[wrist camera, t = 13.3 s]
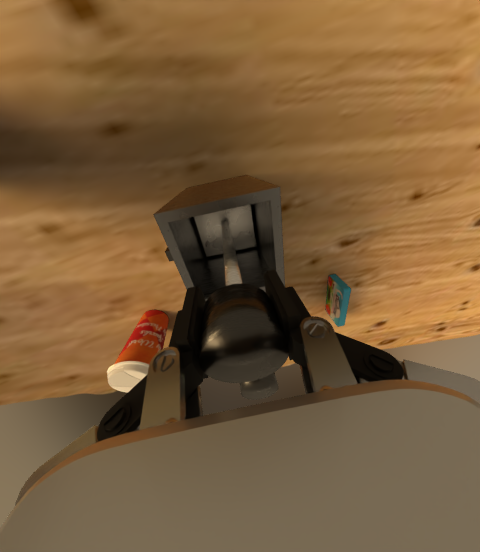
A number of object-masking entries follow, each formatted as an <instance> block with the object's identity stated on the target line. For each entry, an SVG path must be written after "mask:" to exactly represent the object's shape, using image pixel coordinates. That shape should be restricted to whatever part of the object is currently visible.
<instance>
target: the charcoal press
mask: <svg viewBox="0 0 480 552" xmlns="http://www.w3.org/2000/svg"><path fill="white" fill-rule="evenodd" d="M245 205H250V206H251V213H252V220H253V227H254V234H255V242H256V246H254V247H249V248H245V249H240V250H236V256H237V260H238V265H239V270H240V274H241V279H242V283H243V284H250V285H254V286H256V287H259V288H260V289H262V290H263V291H265V292H266V290H265V283H264V274H266V271H269V270H274V269H275V270H276V272H277V274H278V275H279V277H280V279H281V281H282V283H283V284H284V286H285V278H284V257H283V237H282V216H281V196H280V187H279V186H276V185H274V184H271V183H268V182H265V181H262V180H259V179H257V178H254V177H251V176H248V175H244V176H239V177H235V178H230V179H226V180H221V181H216V182H212V183H207V184H203V185H198V186H193V187H189V188H186V189H185V190H184V191H182V192H181V193H180V194H179V195H177V196H176V197H175V198H173V199H172V200H171V201H170V202H168V203H167V204H166V205H165V206H163V207H162V208H161V209H160V210H158V211H157V212H156V213H155V214H153V215H154V217H155V219H156V221H157V224H158V226H159V228H160V230H161V233H162V235H163V237H164V239H165V242H166V244H167V246H168V248H167V249H166V251H165V253H166V255H167V257H168V259H169V261H174V262H175V264H176V266H177V269H178V271H179V273H180V275H181V277H182V280H183V282H184V284H185V286H186V289H188V288H191V287H195V286H197V287H198V288H201V290H202V293H203V295H204V298H205V300H206V301H207V299H208V298H209V297H210V295H212V294H213V293H214V292H215V291H217V290H218V289H220V288H222V287H225V286H226V281H225V268H224V255H223V253H222V254H217V255H212V256H208V257H207V256H206V253H205V250H204V247H203V244H202V241H201V238H200V235H199V231H198V228H197V225H196V222H195V219H194V217H195V216H199V215H204V214H209V213H213V212H218V211H222V210H227V209H232V208H236V207H241V206H245Z"/></svg>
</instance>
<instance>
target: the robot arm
mask: <svg viewBox="0 0 480 552" xmlns="http://www.w3.org/2000/svg"><path fill="white" fill-rule="evenodd" d="M264 283H265V290H266V294H267V295H268V296H269V298H270V300H271V303H272V305H273V308H274V310H275V313H276V315H277V318H278V320H279V323H280V325H281V328H282V331H283V333H284V336H285V338H286V341H287V343H288V346H289V355H288V356H289V359H290V360H293V361H294V362H295V363H297V364H299V365H300V369H301V374H302V378H303V383H304V388H305V393H306V394H304V395H299V396H294V397H290V398H285V399H280V400H275V401H270V402H266V403H261V404H256V405H251V406H247V407H242V408H237V409H233V410H229V411H223V412H218V413H214V414H209V415H205V416H203V410H202V400H201V392H200V384H201V383H202V382H203V379H204V378H208V375H206V374H205V373H204V372H203V371H202V369H201V367H200V364H199V354H200V343H201V332H202V321H203V310H204V305H205V303H206V300H205V298H204V295H203V293H202V290H201V288H198V287H197V286H195V287H191V288H188V289H187V292H186V296H185V301H184V305H183V309H182V310H180V311H178V313H177V317H176V321H175V325H174V329H173V332H172V336H171V340H170V344H169V347H167V348H164V349H162V350H160V351H159V352H158V353H156V354H155V356H154V357H153V358H152V360H151V361H150V364H149V368H148V374H147V375H146V376H145V377H144V378H143V379H142V380H141V381H140V382H139V383H138V384H136V385H135V386H134V387H133V388H132V389H131V390H130V391H129V392H128V393H127V394H126V395H125V396H124V397H122V398H121V399H120V400H119V401H118V402H117V403H116V404H115V405H114V406H113V407H112V408H111V409H110V410H109V411H108V412H107V413H106V414H105V416H104V417H103V419H102V420H101V422H100V424H99V425H98V426H95V425H94V426H93V427H92V428H90V429H89V430H88V431H86V432H85V433H84V434H82V435H81V436H80V437H78V438H77V439H76V440H74V441H73V442H72V443H71V444H69V445H68V446H67V447H65V448H64V449H63V450H61V451H60V452H59V453H57V454H56V455H55V456H53V457H52V458H51V459H50V460H48V461H47V462H46V463H44V464H43V465H42V466H40V467H39V468H38V469H37V470H36V471H35V472H34V473H33V474H32V475H31V476H30V478H29V479H28V480H27V481H26V483H25V484H24V486H23V488H22V489H21V491H20V493H19V496H18V498H17V501H16V505H15V507H14V509H13V510H12V511H11V513H10V514H9V515H8V517H7V519H6V520H5V521H4V523H3V524H2V526H1V527H0V552H480V382H479V381H478V380H476V379H474V378H471V377H468V376H465V375H461V374H457V373H454V372H450V371H446V370H442V369H438V368H435V367H430V366H427V365H423V364H419V363H415V362H412V361H407V360H403V362H401V361H398V360H396V359H395V358H394V357H393V356H392V355H390V354H389V353H387V352H385V351H383V350H380V349H378V348H375V347H372V346H370V345H367V344H365V343H362V342H359V341H357V340H354V339H352V338H349V337H346V336H344V335H341V334H339V333H336V332H335V331H334V329H333V327H332V325H331V324H330V323H329V322H328V321H327V320H325V319H323V318H320V317H314V316H312V317H311V316H310V314H309V312H308V311H307V309H306V307H305V306H304V304H303V303H302V301H301V299H300V298H299V296H298V295H297V293H296V291H295V290H294V288H293V287H287V288H285V286H284V284H283V283H282V281H281V279H280V277H279V275H278V274H277V272H276V270H275V269H274V270H269V271H266V274H264Z"/></svg>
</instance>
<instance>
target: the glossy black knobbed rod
mask: <svg viewBox="0 0 480 552" xmlns="http://www.w3.org/2000/svg"><path fill="white" fill-rule="evenodd" d="M240 389H241V395H242V396H243V397H244V398H247V399H262V398H266V397H269V396H271V395H272V394H274V393H275V392H276V391H277V390H278V384H277V380H276V377H275V373H272V374H270V375H268V376H266V377H264V378H261V379H258V380H254V381H250V382H243V383H240Z"/></svg>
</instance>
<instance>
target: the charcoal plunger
mask: <svg viewBox="0 0 480 552" xmlns="http://www.w3.org/2000/svg"><path fill="white" fill-rule="evenodd" d="M194 219H195V222H196V225H197V228H198V231H199V235H200V238H201V241H202V244H203V247H204V250H205V253H206V256H207V257H208V256H212V255H217V254H222V253H223V255H224V268H225V281H226V286H225V287H222V288H220V289H218V290H217V291H215V292H214V293H213V294H212V295H210V297H209V298H208V299H207V301H206V303H205V305H204V310H203V321H202V332H201V343H200V354H199V364H200V367H201V369H202V371H203V372H204V373H205V374H206V375H208V376H209V377H211V378H213V379H215V380H219V381H222V382H229V383H243V382H250V381H254V380H258V379H261V378H264V377H266V376H268V375H270V374H272V373H274V372H275V371H277V370H278V369H279V368H280V367H281V366H282V365H283V364H284V363H285V361H286V360H287V358H288V355H289V346H288V343H287V341H286V338H285V336H284V333H283V331H282V328H281V325H280V323H279V320H278V318H277V315H276V313H275V310H274V308H273V305H272V303H271V300H270V298H269V296H268V295H267V294H266V292H265V291H263V290H262V289H260V288H259V287H256V286H254V285H250V284H243V283H242V279H241V274H240V270H239V265H238V260H237V256H236V250H240V249H245V248H249V247H254V246H256V242H255V234H254V227H253V220H252V213H251V206H250V205H245V206H241V207H236V208H232V209H227V210H222V211H218V212H213V213H209V214H204V215H199V216H195V217H194Z"/></svg>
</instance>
